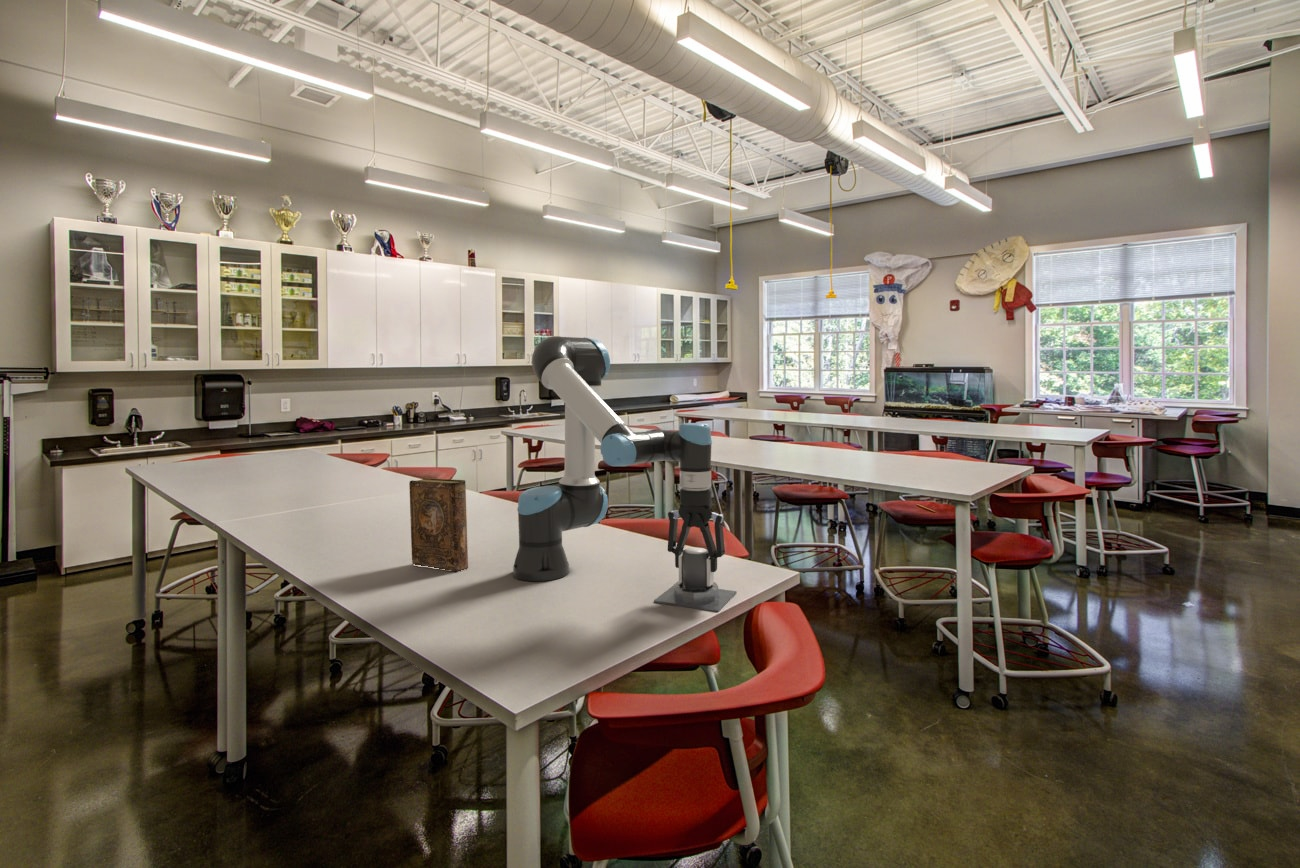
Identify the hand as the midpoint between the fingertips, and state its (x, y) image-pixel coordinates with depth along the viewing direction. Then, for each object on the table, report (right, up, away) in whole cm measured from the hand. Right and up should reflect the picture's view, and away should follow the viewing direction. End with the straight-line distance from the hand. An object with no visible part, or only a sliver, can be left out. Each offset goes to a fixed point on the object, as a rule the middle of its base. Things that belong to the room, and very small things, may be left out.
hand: (696, 582), depth 151 cm
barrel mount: (0, -4, 0) cm, 4 cm away
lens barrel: (0, 0, 0) cm, 0 cm away
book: (-71, -2, +28) cm, 76 cm away
